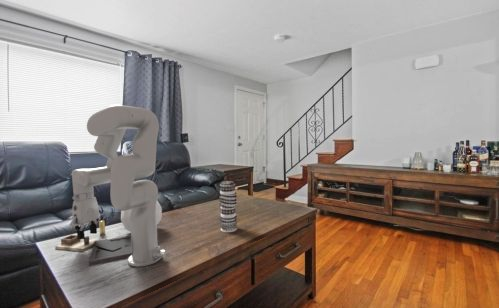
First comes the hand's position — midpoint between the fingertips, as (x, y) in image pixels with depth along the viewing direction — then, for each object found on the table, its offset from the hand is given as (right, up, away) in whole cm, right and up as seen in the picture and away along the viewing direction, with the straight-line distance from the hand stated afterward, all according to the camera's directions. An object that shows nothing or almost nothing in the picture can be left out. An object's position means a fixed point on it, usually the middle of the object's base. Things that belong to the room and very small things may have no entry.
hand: (87, 235), depth 113 cm
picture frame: (+14, -5, -4) cm, 15 cm away
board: (-5, -5, +2) cm, 7 cm away
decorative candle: (+62, -3, +18) cm, 65 cm away
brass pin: (-2, -4, +14) cm, 15 cm away
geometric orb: (+18, -4, +17) cm, 25 cm away
